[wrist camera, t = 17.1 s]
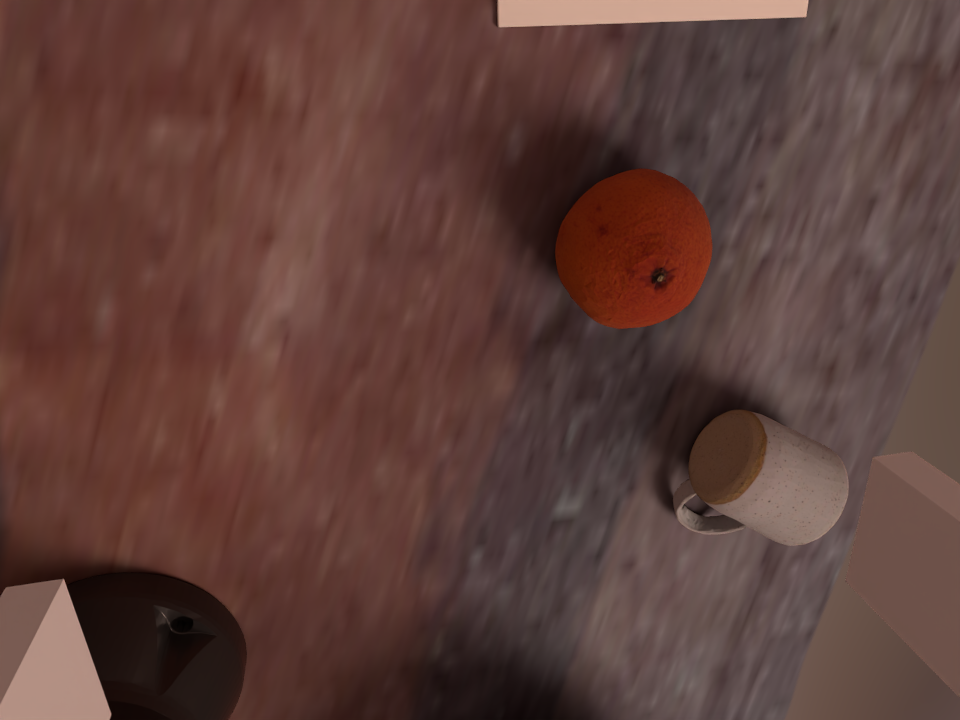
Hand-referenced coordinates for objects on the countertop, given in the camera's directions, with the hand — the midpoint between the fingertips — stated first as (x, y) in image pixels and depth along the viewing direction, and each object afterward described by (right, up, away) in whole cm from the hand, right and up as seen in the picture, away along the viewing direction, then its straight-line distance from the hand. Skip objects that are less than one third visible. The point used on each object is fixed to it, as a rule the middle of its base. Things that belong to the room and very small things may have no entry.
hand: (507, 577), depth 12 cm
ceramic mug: (+18, -4, +41) cm, 45 cm away
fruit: (+8, +11, +32) cm, 35 cm away
